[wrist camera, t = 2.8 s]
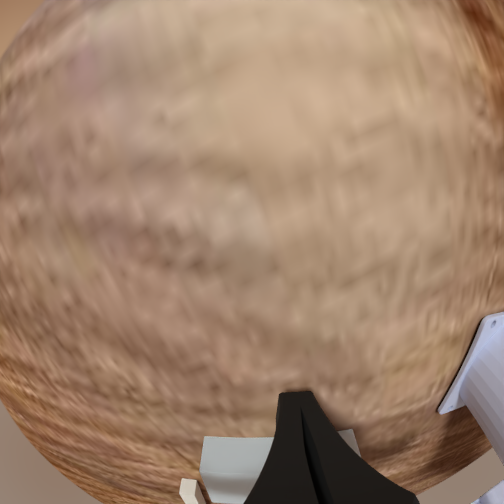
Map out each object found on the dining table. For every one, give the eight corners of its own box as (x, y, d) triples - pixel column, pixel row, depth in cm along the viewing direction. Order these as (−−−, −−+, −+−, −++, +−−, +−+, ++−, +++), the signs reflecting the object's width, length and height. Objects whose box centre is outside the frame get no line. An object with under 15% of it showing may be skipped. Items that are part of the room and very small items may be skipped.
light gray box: (351, 424, 14) (362, 461, 11) (332, 465, 16) (339, 495, 13) (205, 431, 14) (199, 471, 11) (215, 470, 16) (212, 502, 13)
